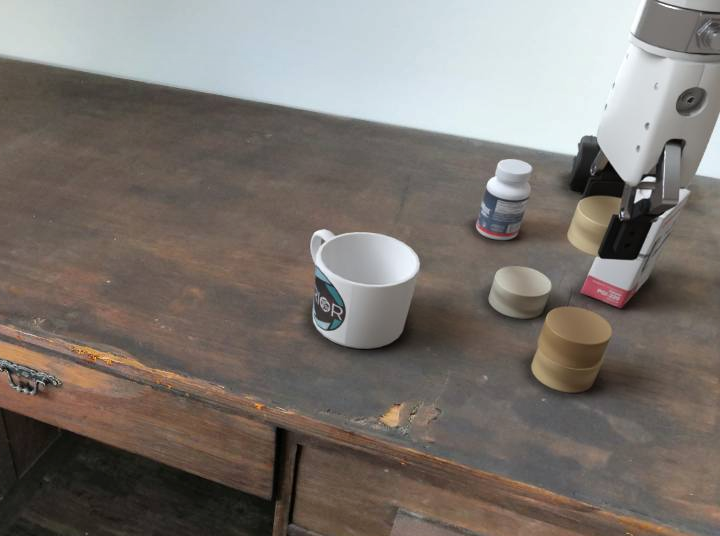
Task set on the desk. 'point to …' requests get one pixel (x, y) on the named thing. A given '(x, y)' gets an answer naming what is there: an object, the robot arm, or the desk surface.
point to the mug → (362, 287)
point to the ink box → (627, 276)
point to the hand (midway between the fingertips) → (605, 235)
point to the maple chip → (592, 222)
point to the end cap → (586, 163)
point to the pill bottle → (505, 200)
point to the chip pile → (571, 349)
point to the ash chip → (519, 292)
